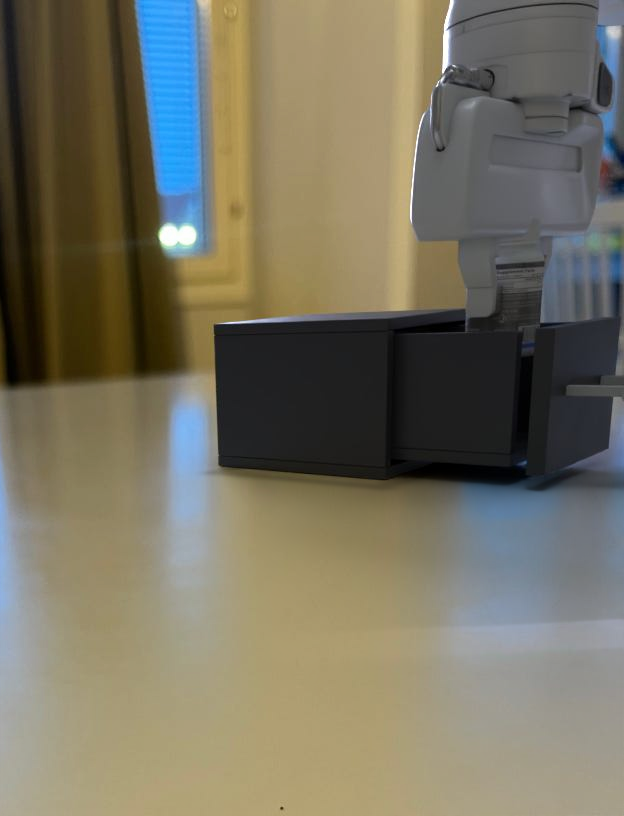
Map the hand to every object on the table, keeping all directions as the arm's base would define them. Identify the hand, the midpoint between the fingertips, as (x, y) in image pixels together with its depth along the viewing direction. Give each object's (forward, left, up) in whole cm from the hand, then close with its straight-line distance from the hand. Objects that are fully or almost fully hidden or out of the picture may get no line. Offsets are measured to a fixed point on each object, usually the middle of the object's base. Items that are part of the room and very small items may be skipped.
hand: (503, 313), depth 66 cm
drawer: (0, +1, -9) cm, 9 cm away
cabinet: (0, -12, -10) cm, 16 cm away
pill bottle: (0, 0, -3) cm, 3 cm away
